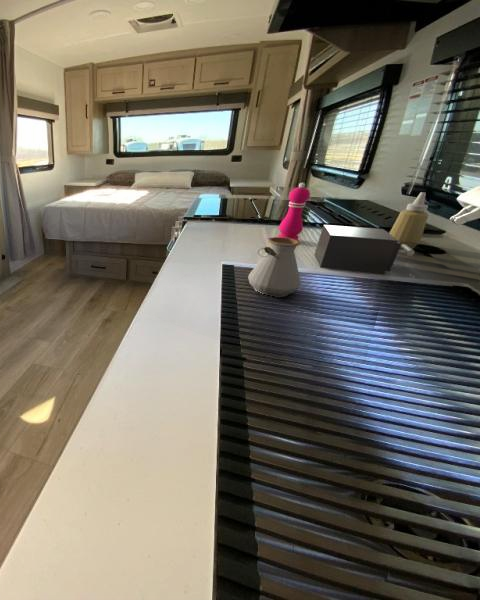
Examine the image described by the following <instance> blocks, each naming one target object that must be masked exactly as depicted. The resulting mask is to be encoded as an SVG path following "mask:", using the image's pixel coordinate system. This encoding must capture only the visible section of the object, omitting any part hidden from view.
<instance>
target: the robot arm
mask: <svg viewBox="0 0 480 600" xmlns="http://www.w3.org/2000/svg"><path fill="white" fill-rule="evenodd" d="M456 201H457V202H458V203H459V204H460V206H461V207H462V209H461V210H459V212H458V213H456V214H454V215H452V216H450V218H449V220H450V221H451V223H453V224H455V225H457V226H462V225H464V224H466V223H468V222H471V221H475V220H478V219H480V184H479V185H477V186H476V187H473V188H471V189H469V190H467V191H465V192H463V193H461V194H460V195H458V197H457V198H456Z"/></svg>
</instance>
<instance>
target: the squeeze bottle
mask: <svg viewBox="0 0 480 600" xmlns="http://www.w3.org/2000/svg"><path fill="white" fill-rule="evenodd" d="M426 194H427V193H426V192H422V191H421V192H419V194H418V195H417V197H416V198H415V200H414V201H413V203H408V204H407V206H406V208H405V210H402V211H401V212H400V213H399V214H398V216H397V218H396V220H395V222H394V223H393V224H392V225H393V226H392V227H391V229H390V230H389V232H388V233H389V234H390V235H391V236H393V237H394V238H395V239H397V240H398V241H399V242H400V243H401V245H402V244H406V245H407V246H408V247H410V248H411V249H412V250H414V249H415V248H416V246H417V245H418V244H419V243H420V242H421V240H422V238H423V234H424V231H425V227H426V224H427V221H428V218H429V213H428V212H426V211H427V210H428V207H429V205H428V204H425V202H426ZM399 250H401V249H399Z"/></svg>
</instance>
